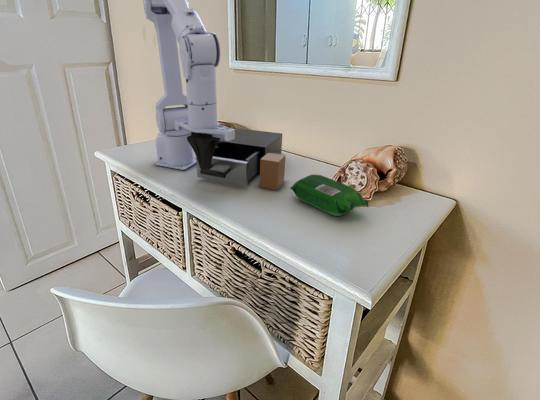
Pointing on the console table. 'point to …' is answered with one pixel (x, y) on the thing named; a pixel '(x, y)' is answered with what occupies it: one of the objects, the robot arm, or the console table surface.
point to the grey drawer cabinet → (256, 141)
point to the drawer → (232, 164)
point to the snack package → (328, 194)
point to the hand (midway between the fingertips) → (205, 167)
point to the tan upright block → (272, 171)
